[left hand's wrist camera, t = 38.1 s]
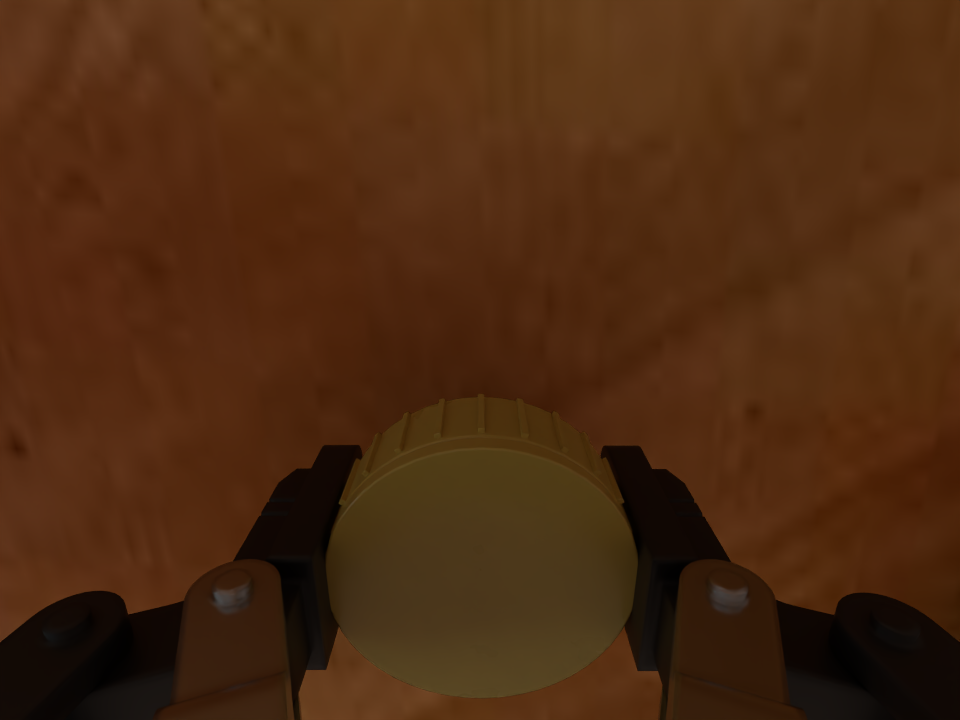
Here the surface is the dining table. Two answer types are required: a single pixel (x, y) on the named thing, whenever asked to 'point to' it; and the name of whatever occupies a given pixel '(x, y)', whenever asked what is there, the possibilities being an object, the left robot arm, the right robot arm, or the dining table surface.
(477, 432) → the lid
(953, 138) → the dining table surface
